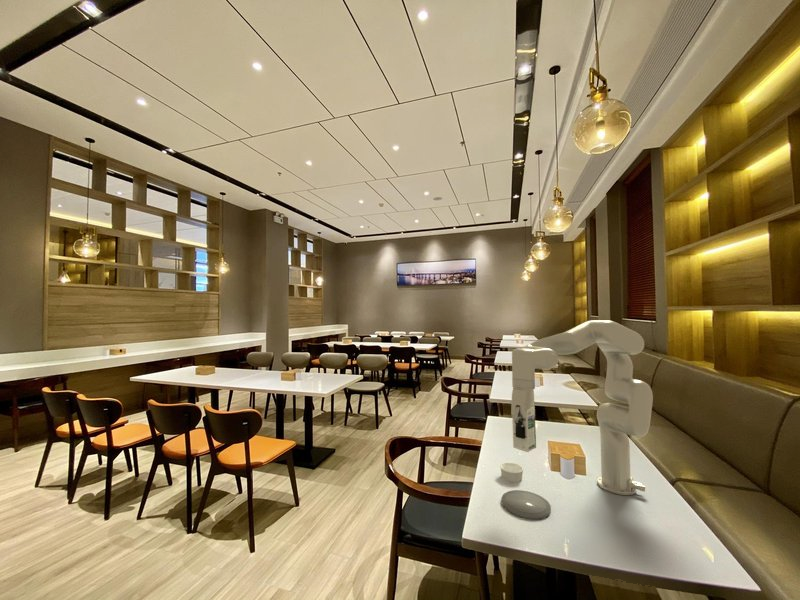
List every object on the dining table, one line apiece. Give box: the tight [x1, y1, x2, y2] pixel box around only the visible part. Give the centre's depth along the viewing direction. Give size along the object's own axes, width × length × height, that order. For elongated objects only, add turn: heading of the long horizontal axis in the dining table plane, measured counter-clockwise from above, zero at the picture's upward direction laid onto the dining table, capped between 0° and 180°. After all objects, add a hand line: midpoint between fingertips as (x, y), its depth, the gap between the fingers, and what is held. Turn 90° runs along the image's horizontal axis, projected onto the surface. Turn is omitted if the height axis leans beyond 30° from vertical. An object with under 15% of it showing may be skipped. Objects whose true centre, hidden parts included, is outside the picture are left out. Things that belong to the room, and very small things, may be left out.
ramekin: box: [499, 462, 524, 483], centre depth 135 cm, size 9×9×4 cm
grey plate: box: [501, 489, 552, 521], centre depth 115 cm, size 16×16×1 cm
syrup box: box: [511, 406, 537, 453], centre depth 116 cm, size 6×6×14 cm
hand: (524, 434), depth 116 cm, fingers closed on syrup box, 6 cm apart
